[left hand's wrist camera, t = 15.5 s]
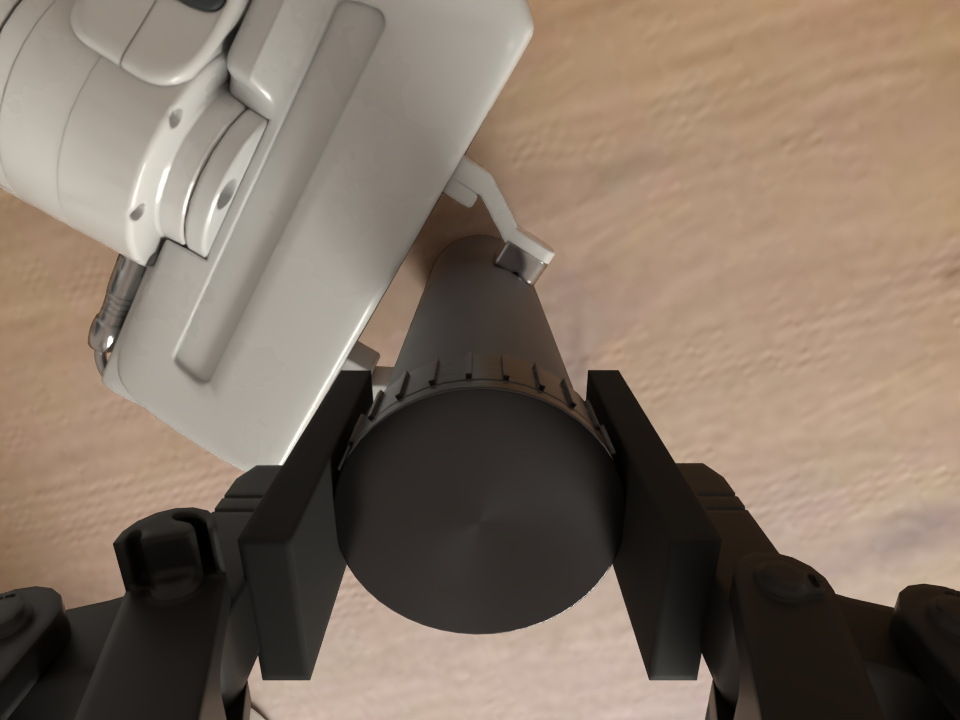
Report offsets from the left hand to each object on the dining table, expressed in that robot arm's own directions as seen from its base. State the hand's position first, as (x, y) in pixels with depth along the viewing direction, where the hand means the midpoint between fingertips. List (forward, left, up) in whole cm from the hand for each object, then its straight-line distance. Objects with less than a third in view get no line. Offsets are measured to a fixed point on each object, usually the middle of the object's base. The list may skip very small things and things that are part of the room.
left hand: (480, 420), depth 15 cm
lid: (0, 0, +4) cm, 4 cm away
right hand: (-1, +1, -9) cm, 9 cm away
